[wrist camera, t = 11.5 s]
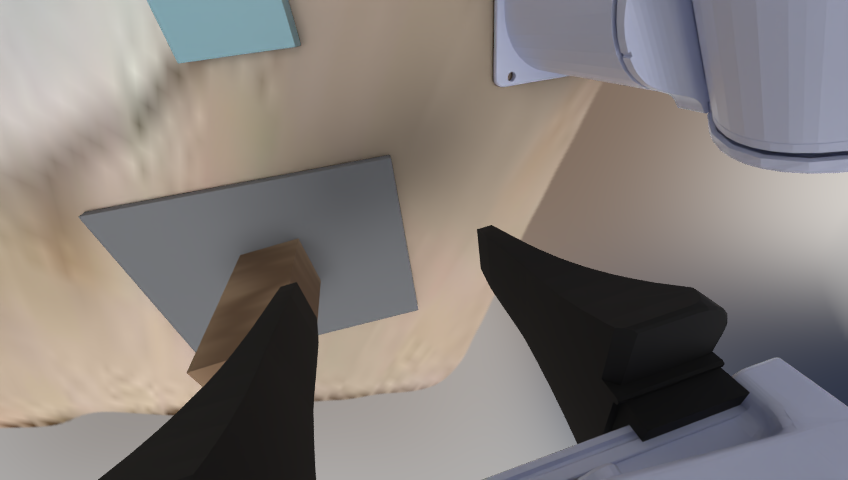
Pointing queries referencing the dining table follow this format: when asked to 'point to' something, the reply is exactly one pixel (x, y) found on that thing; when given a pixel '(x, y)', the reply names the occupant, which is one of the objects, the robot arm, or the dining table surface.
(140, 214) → the rubber mat
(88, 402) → the dining table surface
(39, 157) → the dining table surface
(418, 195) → the dining table surface
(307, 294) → the walnut block
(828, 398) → the robot arm
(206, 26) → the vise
